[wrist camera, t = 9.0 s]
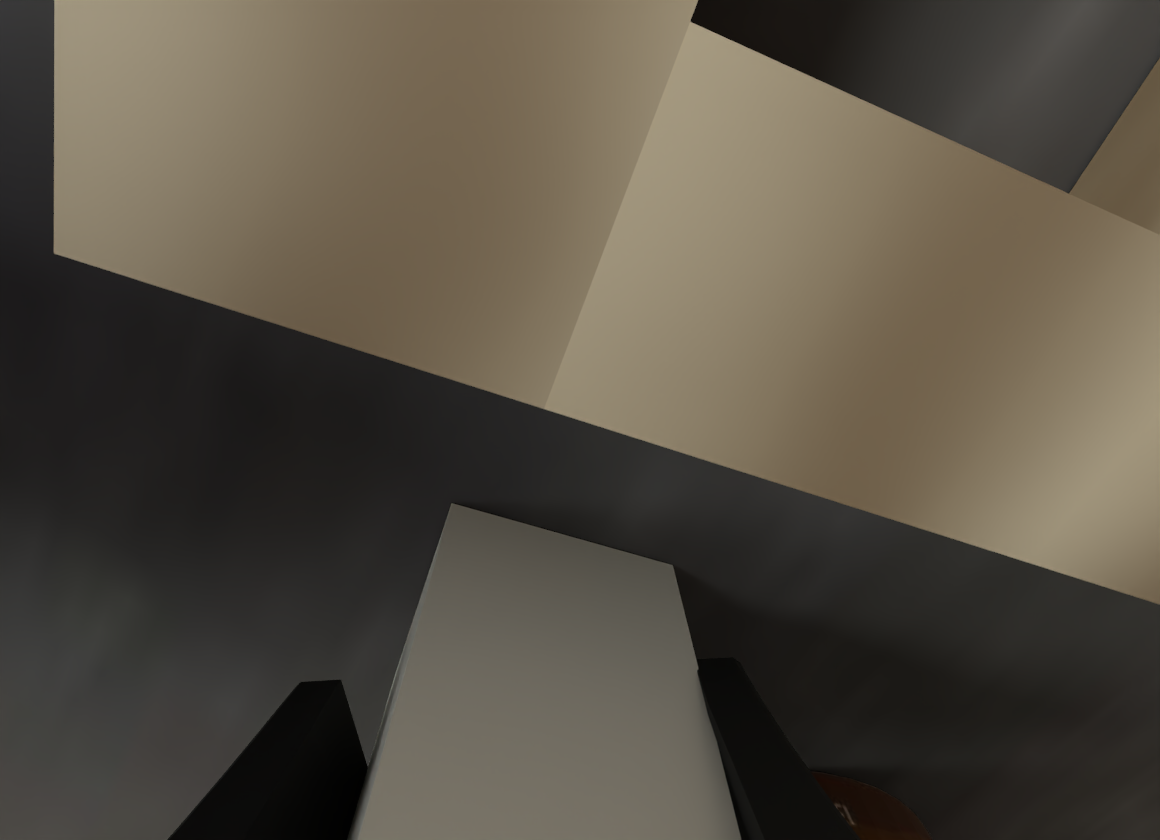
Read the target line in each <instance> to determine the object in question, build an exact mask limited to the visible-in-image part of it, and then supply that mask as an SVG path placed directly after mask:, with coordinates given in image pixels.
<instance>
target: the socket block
mask: <svg viewBox="0 0 1160 840" xmlns="http://www.w3.org/2000/svg"><path fill="white" fill-rule="evenodd" d="M697 2H698V0H54V254H57V255H60V256H64V257H67V258H70V259H73V260H76V261H79V262H82V263H86V264H89V265H92V266H95V267H98V268H101V269H105V270H108V271H111V272H114V273H117V274H120V275H123V276H127V277H130V278H133V279H136V280H139V281H142V282H145V283H149V284H152V285H155V286H158V287H161V288H164V289H168V290H171V291H174V292H177V293H180V294H183V295H186V296H190V297H193V298H196V299H199V300H202V301H205V302H208V303H212V304H215V305H218V306H221V307H224V308H227V309H231V310H234V311H237V312H240V313H243V314H246V315H249V316H253V317H256V318H259V319H262V320H265V321H268V322H272V323H275V324H278V325H281V326H284V327H287V328H290V329H294V330H297V331H300V332H303V333H306V334H309V335H312V336H316V337H319V338H322V339H325V340H328V341H331V342H335V343H338V344H341V345H344V346H347V347H350V348H353V349H357V350H360V351H363V352H366V353H369V354H372V355H375V356H379V357H382V358H385V359H388V360H391V361H394V362H398V363H401V364H404V365H407V366H410V367H413V368H416V369H420V370H423V371H426V372H429V373H432V374H435V375H438V376H442V377H445V378H448V379H451V380H454V381H457V382H461V383H464V384H467V385H470V386H473V387H476V388H479V389H483V390H486V391H489V392H492V393H495V394H498V395H501V396H505V397H508V398H511V399H514V400H517V401H520V402H524V403H527V404H530V405H533V406H536V407H539V408H542V409H546V410H549V411H552V412H555V413H558V414H561V415H564V416H568V417H571V418H574V419H577V420H580V421H583V422H587V423H590V424H593V425H596V426H599V427H602V428H605V429H609V430H612V431H615V432H618V433H621V434H624V435H627V436H631V437H634V438H637V439H640V440H643V441H646V442H650V443H653V444H656V445H659V446H662V447H665V448H668V449H672V450H675V451H678V452H681V453H684V454H687V455H690V456H694V457H697V458H700V459H703V460H706V461H709V462H713V463H716V464H719V465H722V466H725V467H728V468H731V469H735V470H738V471H741V472H744V473H747V474H750V475H753V476H757V477H760V478H763V479H766V480H769V481H772V482H776V483H779V484H782V485H785V486H788V487H791V488H794V489H798V490H801V491H804V492H807V493H810V494H813V495H817V496H820V497H823V498H826V499H829V500H832V501H835V502H839V503H842V504H845V505H848V506H851V507H854V508H857V509H861V510H864V511H867V512H870V513H873V514H876V515H880V516H883V517H886V518H889V519H892V520H895V521H898V522H902V523H905V524H908V525H911V526H914V527H917V528H920V529H924V530H927V531H930V532H933V533H936V534H939V535H943V536H946V537H949V538H952V539H955V540H958V541H961V542H965V543H968V544H971V545H974V546H977V547H980V548H983V549H987V550H990V551H993V552H996V553H999V554H1002V555H1006V556H1009V557H1012V558H1015V559H1018V560H1021V561H1024V562H1028V563H1031V564H1034V565H1037V566H1040V567H1043V568H1046V569H1050V570H1053V571H1056V572H1059V573H1062V574H1065V575H1069V576H1072V577H1075V578H1078V579H1081V580H1084V581H1087V582H1091V583H1094V584H1097V585H1100V586H1103V587H1106V588H1109V589H1113V590H1116V591H1119V592H1122V593H1125V594H1128V595H1132V596H1135V597H1138V598H1141V599H1144V600H1147V601H1150V602H1154V603H1157V604H1160V58H1159V60H1158V61H1157V63H1156V64H1155V66H1154V67H1153V69H1152V70H1151V72H1150V73H1149V75H1148V76H1147V78H1146V79H1145V81H1144V82H1143V84H1142V85H1141V87H1140V88H1139V90H1138V91H1137V93H1136V94H1135V96H1134V97H1133V99H1132V100H1131V102H1130V103H1129V105H1128V106H1127V108H1126V109H1125V111H1124V112H1123V114H1122V115H1121V117H1120V118H1119V120H1118V121H1117V123H1116V124H1115V126H1114V127H1113V129H1112V130H1111V132H1110V133H1109V135H1108V136H1107V138H1106V139H1105V141H1104V142H1103V144H1102V145H1101V147H1100V148H1099V150H1098V151H1097V153H1096V154H1095V156H1094V157H1093V159H1092V160H1091V162H1090V163H1089V165H1088V166H1087V167H1086V169H1085V170H1084V172H1083V173H1082V175H1081V176H1080V178H1079V179H1078V181H1077V182H1076V184H1075V185H1074V187H1073V188H1072V190H1071V191H1070V193H1069V194H1068V193H1066V192H1064V191H1062V190H1060V189H1057V188H1055V187H1053V186H1051V185H1049V184H1046V183H1044V182H1042V181H1040V180H1038V179H1035V178H1033V177H1031V176H1029V175H1026V174H1024V173H1022V172H1020V171H1018V170H1015V169H1013V168H1011V167H1009V166H1007V165H1004V164H1002V163H1000V162H998V161H996V160H993V159H991V158H989V157H987V156H985V155H982V154H980V153H978V152H976V151H974V150H971V149H969V148H967V147H965V146H963V145H960V144H958V143H956V142H954V141H952V140H949V139H947V138H945V137H943V136H941V135H938V134H936V133H934V132H932V131H930V130H927V129H925V128H923V127H921V126H919V125H916V124H914V123H912V122H910V121H908V120H905V119H903V118H901V117H899V116H897V115H894V114H892V113H890V112H888V111H886V110H883V109H881V108H879V107H877V106H875V105H872V104H870V103H868V102H866V101H864V100H861V99H859V98H857V97H855V96H853V95H850V94H848V93H846V92H844V91H842V90H839V89H837V88H835V87H833V86H831V85H828V84H826V83H824V82H822V81H820V80H817V79H815V78H813V77H811V76H809V75H806V74H804V73H802V72H800V71H798V70H795V69H793V68H791V67H789V66H787V65H784V64H782V63H780V62H778V61H776V60H773V59H771V58H769V57H767V56H765V55H762V54H760V53H758V52H756V51H754V50H751V49H749V48H747V47H745V46H743V45H740V44H738V43H736V42H734V41H732V40H729V39H727V38H725V37H723V36H721V35H718V34H716V33H714V32H712V31H710V30H707V29H705V28H703V27H701V26H699V25H696V24H694V23H692V22H690V21H691V18H692V15H693V13H694V10H695V8H696V5H697Z"/></svg>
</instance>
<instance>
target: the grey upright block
mask: <svg viewBox="0 0 1160 840" xmlns="http://www.w3.org/2000/svg"><path fill="white" fill-rule="evenodd" d="M698 669H699V668H698V664H697V660H696V656H695V652H694V648H693V644H692V640H691V636H690V632H689V628H688V624H687V620H686V616H685V612H684V608H683V604H682V600H681V596H680V592H679V588H678V584H677V580H676V576H675V572H674V568H673V565H670V564H667V563H663V562H660V561H656V560H653V559H649V558H645V557H642V556H638V555H635V554H631V553H628V552H624V551H621V550H617V549H613V548H610V547H606V546H603V545H599V544H596V543H592V542H589V541H585V540H581V539H578V538H574V537H571V536H567V535H564V534H560V533H557V532H553V531H549V530H546V529H542V528H539V527H535V526H532V525H528V524H525V523H521V522H517V521H514V520H510V519H507V518H503V517H500V516H496V515H492V514H489V513H485V512H482V511H478V510H475V509H471V508H468V507H464V506H460V505H457V504H453V503H451V506H450V509H449V512H448V515H447V518H446V521H445V524H444V527H443V530H442V533H441V536H440V540H439V543H438V546H437V549H436V552H435V555H434V558H433V561H432V564H431V567H430V570H429V573H428V576H427V579H426V582H425V585H424V588H423V591H422V594H421V597H420V600H419V603H418V606H417V609H416V612H415V615H414V618H413V621H412V624H411V627H410V630H409V633H408V636H407V639H406V642H405V645H404V649H403V652H402V655H401V658H400V661H399V664H398V667H397V670H396V673H395V677H394V680H393V683H392V687H391V690H390V694H389V697H388V701H387V704H386V707H385V711H384V714H383V718H382V721H381V724H380V728H379V731H378V735H377V738H376V742H375V745H374V748H373V752H372V755H371V759H370V762H369V765H368V769H367V773H366V776H365V779H364V783H363V786H362V790H361V793H360V797H359V800H358V803H357V807H356V810H355V814H354V817H353V821H352V824H351V827H350V831H349V834H348V838H347V840H741V836H740V832H739V828H738V824H737V820H736V816H735V812H734V808H733V804H732V800H731V796H730V792H729V788H728V784H727V780H726V776H725V772H724V768H723V764H722V760H721V756H720V752H719V748H718V744H717V740H716V737H715V735H714V732H713V729H712V726H711V723H710V720H709V717H708V713H707V709H706V705H705V701H704V697H703V693H702V689H701V685H700V681H699V677H698V673H697V670H698Z"/></svg>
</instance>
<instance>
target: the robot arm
mask: <svg viewBox="0 0 1160 840" xmlns="http://www.w3.org/2000/svg"><path fill="white" fill-rule="evenodd" d="M697 664H698V668H699V669H698V670H697V673H698V677H699V681H700V685H701V689H702V693H703V697H704V701H705V705H706V709H707V713H708V717H709V720H710V723H711V726H712V729H713V732H714V735H715V737H716V740H717V744H718V748H719V752H720V756H721V760H722V764H723V768H724V772H725V776H726V780H727V784H728V788H729V792H730V796H731V800H732V804H733V808H734V812H735V816H736V820H737V824H738V828H739V832H740V836H741V840H861V839H860V838H859V836H858V835H857V834H856V832H855V831H854V830H853V829H852V827H851V826H850V825H849V823H848V822H847V821H846V819H845V818H844V817H843V815H842V814H841V813H840V812H839V810H838V809H837V808H836V806H835V805H834V804H833V802H832V801H831V799H830V798H829V797H828V795H827V794H826V793H825V791H824V790H823V788H822V787H821V786H820V784H819V783H818V782H817V780H816V779H815V777H814V776H813V775H812V773H811V772H810V771H809V769H808V768H807V766H806V765H805V764H804V762H803V761H802V759H801V758H800V757H799V755H798V754H797V752H796V751H795V749H794V748H793V747H792V745H791V744H790V742H789V741H788V739H787V738H786V736H785V735H784V733H783V732H782V730H781V729H780V727H779V726H778V724H777V723H776V721H775V720H774V718H773V717H772V715H771V713H770V712H769V710H768V709H767V707H766V706H765V704H764V703H763V701H762V699H761V698H760V696H759V695H758V693H757V691H756V690H755V688H754V686H753V685H752V683H751V681H750V680H749V678H748V676H747V675H746V673H745V671H744V669H743V668H742V666H741V664H740V663H739V662H738V661H737V660H736V659H734V658H717V659H699V660H697ZM367 769H368V767H367V764H366V761H365V757H364V754H363V751H362V747H361V744H360V741H359V737H358V734H357V731H356V728H355V724H354V721H353V718H352V714H351V711H350V708H349V705H348V701H347V698H346V695H345V691H344V688H343V685H342V682H341V680H328V681H311V682H300V683H299V684H298V685H297V686H296V688H295V689H294V690H293V691H292V692H291V693H290V695H289V696H288V697H287V698H286V699H285V701H284V702H283V703H282V704H281V705H280V707H279V708H278V709H277V710H276V712H275V713H274V714H273V715H272V716H271V718H270V719H269V720H268V721H267V723H266V724H265V725H264V726H263V727H262V729H261V730H260V731H259V732H258V734H257V735H256V736H255V737H254V738H253V740H252V741H251V742H250V743H249V744H248V746H247V747H246V748H245V749H244V751H243V752H242V753H241V754H240V755H239V757H238V758H237V759H236V760H235V761H234V763H233V764H232V765H231V766H230V767H229V769H228V770H227V771H226V772H225V773H224V775H223V776H222V777H221V778H220V779H219V780H218V782H217V783H216V784H215V785H214V786H213V787H212V789H211V790H210V791H209V792H208V793H207V794H206V796H205V797H204V798H203V799H202V800H201V801H200V803H199V804H198V805H197V806H196V807H195V808H194V810H193V811H192V812H191V813H190V814H189V815H188V817H187V818H186V819H185V820H184V821H183V822H182V823H181V825H180V826H179V827H178V828H177V829H176V830H175V832H174V833H173V834H172V835H171V836H170V837H169V838H168V840H347V838H348V834H349V831H350V827H351V824H352V821H353V817H354V814H355V810H356V807H357V803H358V800H359V797H360V793H361V790H362V786H363V783H364V779H365V776H366V773H367Z"/></svg>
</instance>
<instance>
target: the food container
mask: <svg viewBox="0 0 1160 840" xmlns="http://www.w3.org/2000/svg"><path fill="white" fill-rule="evenodd" d="M810 772H811V773H812V775H813V776H814V777H815V779H816V780H817V782H818V783H819V784H820V786H821V787H822V788H823V790H824V791H825V793H826V794H827V795H828V797H829V798H830V799H831V801H832V802H833V804H834V805H835V806H836V808H837V809H838V810H839V812H840V813H841V814H842V815H843V817H844V818H845V819H846V821H847V822H848V823H849V825H850V826H851V827H852V829H853V830H854V831H855V832H856V834H857V835H858V836H859V838H860V839H861V840H932V838H931V836H930V835H929V833H928V831H927V830H926V828H925V827H924V825H923V824H922V823H921V821H920V820H919V818H918V817H917V816H916V814H915V813H914V812H913V811H911V810H910V809H909V808H908V807H907V806H906V805H904V804H903V803H902V802H901V801H900V800H898V799H897V798H895V797H893V796H891V795H889V794H888V793H886V792H884V791H882V790H880V789H878V788H876V787H874V786H871V785H868V784H865V783H862V782H860V781H857V780H854V779H851V778H846V777H842V776H837V775H832V774H827V773H823V772H814V771H810Z"/></svg>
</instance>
